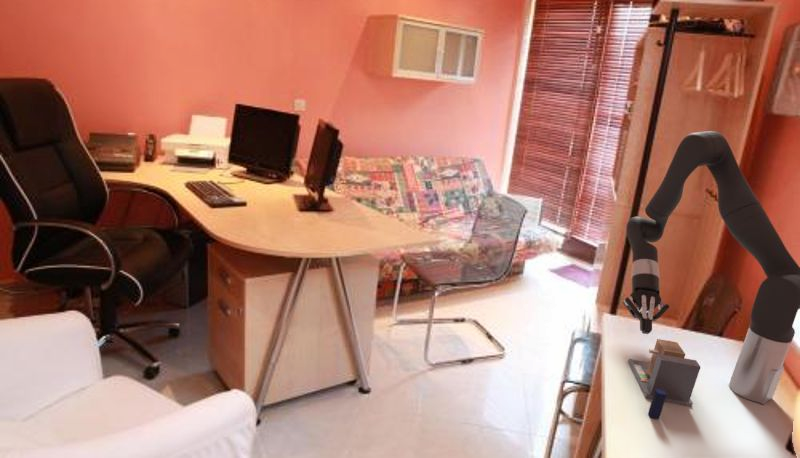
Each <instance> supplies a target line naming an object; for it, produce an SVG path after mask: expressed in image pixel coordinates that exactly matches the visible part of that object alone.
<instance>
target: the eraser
mask: <svg viewBox="0 0 800 458" xmlns="http://www.w3.org/2000/svg"><path fill="white" fill-rule="evenodd" d="M665 399H666V393H665V392H664V390H659V389H655V392H654V396H653V399H651V402H650V404H649V405H650V406H649V409H648V416H649V418H650V419H654V420H660V417H661V415H662V411H663V408H664V405H665Z"/></svg>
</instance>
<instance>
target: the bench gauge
mask: <svg viewBox="0 0 800 458" xmlns="http://www.w3.org/2000/svg"><path fill="white" fill-rule="evenodd" d="M627 362H628V365H629V367H630V369H631V371H632V373H633V375H634V378H635V379H636V381H637V383H638V386H639V388H640V391H641V392H642V394H643V396H644V398H645V399H649V400H652V399H653V396H654V392H655V389H659V390H664V392H665V393H666V399H665V402H666V403H669V404H674V405H681V406H687V407H693V404H694V402H693V401H692V399H691V397H692V394H693V391H694V389H695V385H696V382H697V379H698V376H699V373H700V370H701V365H700V364H699V362H698V361H697V360H695V359H690V358H686V357H684V358H680V357H674V356H669V355H663V354H657V358H656V361H655V364H654V367H653V371H652V374H651V377H649V375H648V373H647V371H648V368H649V365H650V361H649V362H648V361H643V360H636V359H632V358H629V359H628V361H627ZM665 402H664V403H665Z"/></svg>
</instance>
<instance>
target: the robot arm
mask: <svg viewBox="0 0 800 458" xmlns="http://www.w3.org/2000/svg"><path fill="white" fill-rule="evenodd" d="M702 166H704V167H705V166H706V168H707V169H708V170H709V173H710V174H711V176H712V177H713V179H714V181H715V184H716V188H717V204H718V205H717V207H718V211H719V216H720V217H721V219H722V220H723V222H724V224H725V226H726V228H727V229H728V231H729V232H730V234H731V236H732V237H733V239H735V240H736V241H737V242H738V243H739V245H741V247H742V248H744V249H745V250H746V251H747V252H748V253H749V254H751V255H752V256H753V258H754V259H756V261H757V262H758V264H759V265H760V267H761V269H762V270H763V272H764V274H765V275H766V278H764V279H763V281H762V282H761V284H760V286H759V287H758V290H757V292H756V294H755V298H754V302H753V304H752V309H751V313H750V324H749V327H748V329H747V332H746V335H745V338H744V341H743V344H742V346H741V350H740V351H739V355H738V357H737V361H736V363H735V366H734V368H733V371H732V375H731V377H730V381H729V383H728V386H729V389H730V390H732V392H733V393H735V394H737V395H738V396H740V397H741V398H744V399H747V400H749V401H752V402H755V403H759V404H761V405H765V404H766V403H768V402H769V401H771V400H772V399H773V398H774V395H775V392H776V390H777V387H778V385H779V383H780V380H781V377H782V375H783V373H784V371H785V366H784V365H783V364H784V363H785V360H786V357H787V354H788V352H789V349H790V347H791V344H792V341H793V339H794V337H795V334H796V330H795V328H794V327H793V326H794V322H795V320H796V317H797V314H798V310H800V266H799V264H798V263H797V262H796V261H795V259H794V258H793V256H792V254H790V252H789V251H788V249H787V248H786V246H785V243H783V240H782V239H781V237H780V235H779V234H778V232H777V230H776V228H775V227H774V225H773V222H772V221H771V220H770V217H769V216H768V214H767V212H766V211H765V209H764V208H763V206H762V204H761V202H760V201H759V199H758V198H757V197H756V196H757V195H755V193H754V191H753V189H752V188H751V186H750V184H749V182H748V181H747V179H746V177H745V176H744V174H743V172H742V170H741V168H740V166H739V163H738V162H737V159H736V156H735V155H734V152H733V150H732V147H731V146H730V144H729V142H728V141H727V139H726V137H725V135H723V134H722V133H720V132H718V131H715V130H707V131H705V130H704V131H699V132H697V131H696V132H691V133H689V134H687V135H686V136H684V137H683V139H682V140H681V141H680V143H679V145H678V147H677V149H676V151H675V152H674V155H673V158H672V161H671V162H670V165H669V167H668V168H667V171H666V173H665V176H664V178H663V180H662V181H661V183H660V185H659V186H658V187H657V190H656V191H655V192H654V194H653V196H652V197H651V199H650V200H649V202H648V203H647V204H646V207H645V209H644V210H645V214H646V215H647V217H649V218H646V217H642V216H633V217H631V218H630V219H629V220H628V221H627V224H626V236H627V239H628V242H629V246H630V249H631V251H632V264H631V265H632V267H631V273H630V275H631V293H630V296H629V297H625V299H623V301H622V304H623V305H624V306H625V308H626V309H627V311H628V312H629V313H630V315H631V316H632V318H634V319H638V320H639V329H640V332H641V333H642V334H643V335H644V334H645V335H649V334H650V333H652V330H653V322H656V321H657V320H658V319H660V317H662V316H663V314H664V313H665V312H666V311H667V310H668V309H669V308H670V305H669V304H666V303H664V302H663V301H662V298H661V295H660V293H661V292H660V289H661V288H660V286H661V285H660V269H659V268H660V267H659V262H658V261H659V255H658V253H659V252H658V251H659V250H658V248H657V247H656V246H655V245H653V243H656V242H658V241H660V240H661V238H663V235H664V232H665V228H666V225H667V223H668V220H669V218H670V216H671V215H672V214H673V212H674V210H675V209H676V207H677V206H678V205H679V203H680V202H681V200H682V197H683V192H684V187H685V186H684V185H685V183H686V181H687V179H688V178H689V176H691V174H692V173H693V172H694V171H695V170H696V169H697V168H699V167H702ZM651 243H652V244H651ZM656 308H658V311H657V312H656V313H655V314H654V312H655V309H656Z"/></svg>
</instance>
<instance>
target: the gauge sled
mask: <svg viewBox="0 0 800 458" xmlns="http://www.w3.org/2000/svg"><path fill="white" fill-rule="evenodd" d="M648 353H649V354H652V355H651V359H650V361H649V363H650V365H649V368H648V371H647V373H648V375H649V377H651V374H652V371H653V367H654V364H655V361H656V358H657V354H663V355H669V356H674V357H680V358H686V357H685V356H686V352H685V351H684V350H683V348H682V346H680V344H679V343H678V342H676V341H672V340H667V339H666V340H665V339H660V338H659V339H658V338H656V341H655V345H654V349H651V348H649V349H648Z"/></svg>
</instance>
